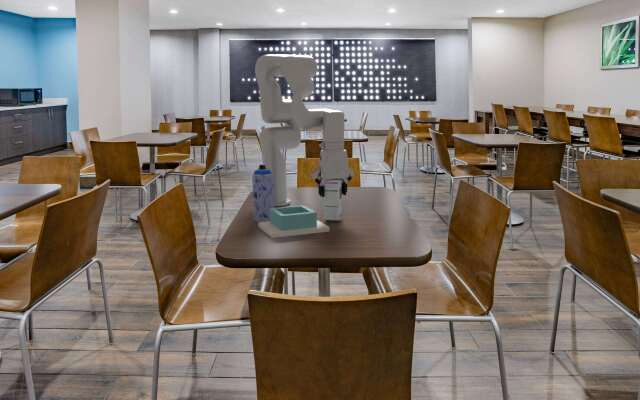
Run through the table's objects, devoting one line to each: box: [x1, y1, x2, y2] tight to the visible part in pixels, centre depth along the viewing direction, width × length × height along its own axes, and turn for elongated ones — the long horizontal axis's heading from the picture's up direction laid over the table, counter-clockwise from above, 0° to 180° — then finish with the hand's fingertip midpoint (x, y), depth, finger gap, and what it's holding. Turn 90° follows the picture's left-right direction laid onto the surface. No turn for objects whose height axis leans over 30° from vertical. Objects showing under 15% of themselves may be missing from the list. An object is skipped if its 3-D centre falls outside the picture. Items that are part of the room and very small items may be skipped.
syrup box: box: [323, 179, 343, 221], centre depth 192 cm, size 6×6×14 cm
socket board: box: [257, 204, 330, 239], centre depth 183 cm, size 16×20×6 cm
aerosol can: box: [251, 164, 275, 222], centre depth 196 cm, size 8×8×20 cm
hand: (332, 195), depth 192 cm, fingers closed on syrup box, 7 cm apart
